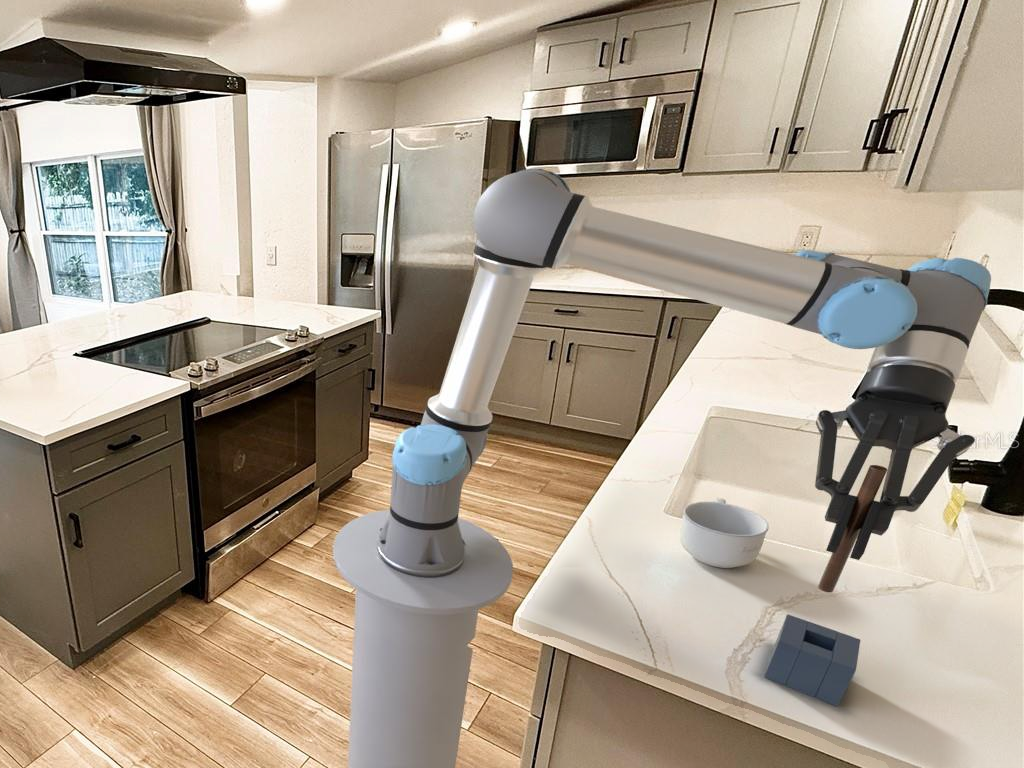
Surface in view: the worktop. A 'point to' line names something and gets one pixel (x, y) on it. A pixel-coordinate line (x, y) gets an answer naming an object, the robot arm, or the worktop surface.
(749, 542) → the teacup
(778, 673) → the stand
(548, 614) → the worktop surface
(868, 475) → the stick
